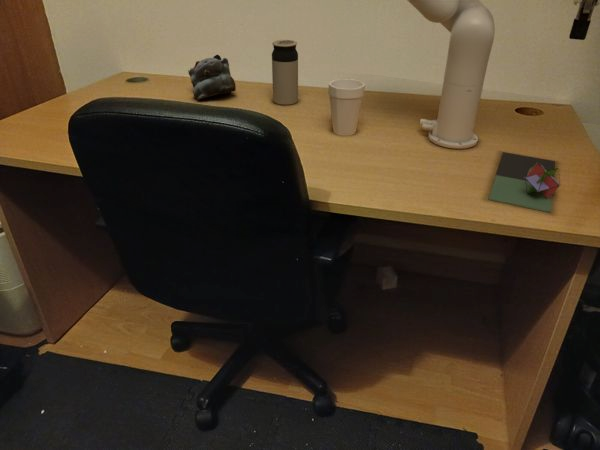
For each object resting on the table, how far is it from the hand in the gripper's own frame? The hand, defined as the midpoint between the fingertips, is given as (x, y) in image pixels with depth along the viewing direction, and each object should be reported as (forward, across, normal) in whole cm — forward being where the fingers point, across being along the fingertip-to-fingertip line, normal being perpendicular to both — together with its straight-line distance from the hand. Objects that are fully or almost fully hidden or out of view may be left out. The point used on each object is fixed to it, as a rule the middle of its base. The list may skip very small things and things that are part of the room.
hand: (576, 38), depth 107 cm
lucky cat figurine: (+27, +1, -100) cm, 104 cm away
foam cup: (+27, +10, -50) cm, 58 cm away
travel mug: (+27, -5, -76) cm, 81 cm away
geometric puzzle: (+27, +26, 0) cm, 37 cm away
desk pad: (+27, +19, -3) cm, 33 cm away
